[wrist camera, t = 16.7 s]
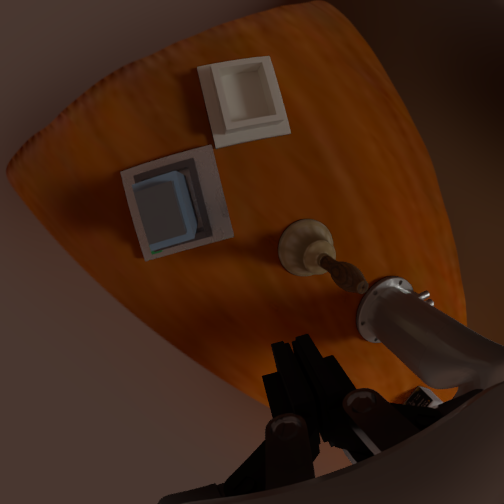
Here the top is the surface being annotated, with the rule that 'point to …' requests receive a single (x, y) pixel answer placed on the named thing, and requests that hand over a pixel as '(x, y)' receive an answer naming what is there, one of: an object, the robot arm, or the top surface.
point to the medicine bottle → (423, 398)
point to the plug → (166, 209)
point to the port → (202, 193)
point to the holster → (243, 101)
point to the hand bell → (317, 255)
